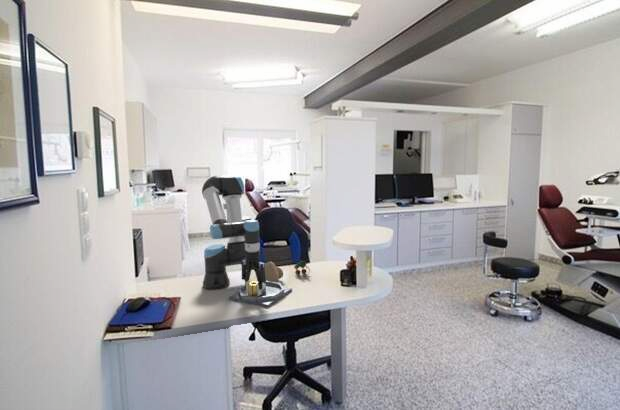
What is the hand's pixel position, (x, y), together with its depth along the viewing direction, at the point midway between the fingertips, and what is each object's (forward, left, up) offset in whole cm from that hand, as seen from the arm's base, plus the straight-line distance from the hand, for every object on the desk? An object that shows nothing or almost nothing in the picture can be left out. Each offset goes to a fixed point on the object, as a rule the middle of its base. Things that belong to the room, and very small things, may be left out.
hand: (254, 293), depth 173 cm
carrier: (0, +7, -3) cm, 7 cm away
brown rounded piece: (-8, +29, -3) cm, 30 cm away
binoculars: (+4, +44, -3) cm, 45 cm away
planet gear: (0, 0, 0) cm, 0 cm away
